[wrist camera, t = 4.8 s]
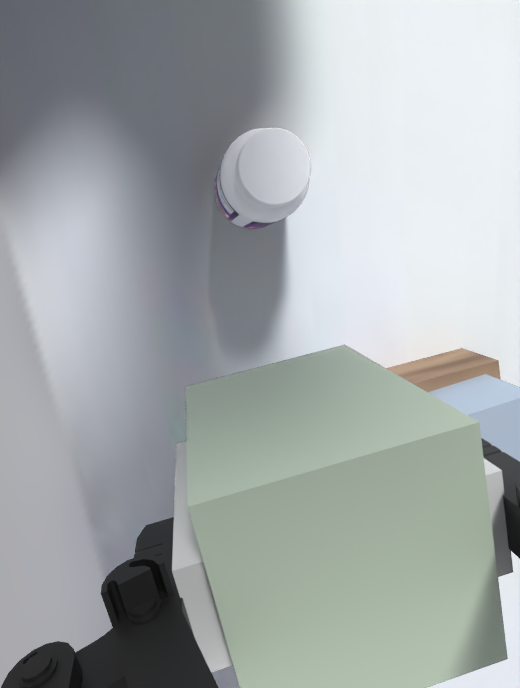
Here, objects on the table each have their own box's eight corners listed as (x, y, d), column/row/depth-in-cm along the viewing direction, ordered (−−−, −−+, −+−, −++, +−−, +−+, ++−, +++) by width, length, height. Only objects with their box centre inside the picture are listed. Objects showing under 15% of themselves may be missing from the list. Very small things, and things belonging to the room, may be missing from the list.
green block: (185, 386, 16) (187, 506, 9) (344, 344, 17) (479, 422, 9) (224, 531, 18) (257, 747, 10) (371, 487, 18) (507, 659, 11)
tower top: (387, 405, 34) (421, 429, 29) (485, 374, 35) (534, 393, 30) (406, 499, 36) (441, 537, 31) (500, 467, 37) (548, 500, 32)
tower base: (349, 376, 38) (374, 394, 34) (459, 347, 40) (498, 360, 35) (369, 483, 41) (394, 514, 36) (472, 452, 42) (510, 478, 37)
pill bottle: (296, 172, 34) (340, 140, 25) (269, 240, 35) (301, 235, 26) (229, 139, 33) (248, 93, 24) (202, 211, 34) (209, 193, 24)
